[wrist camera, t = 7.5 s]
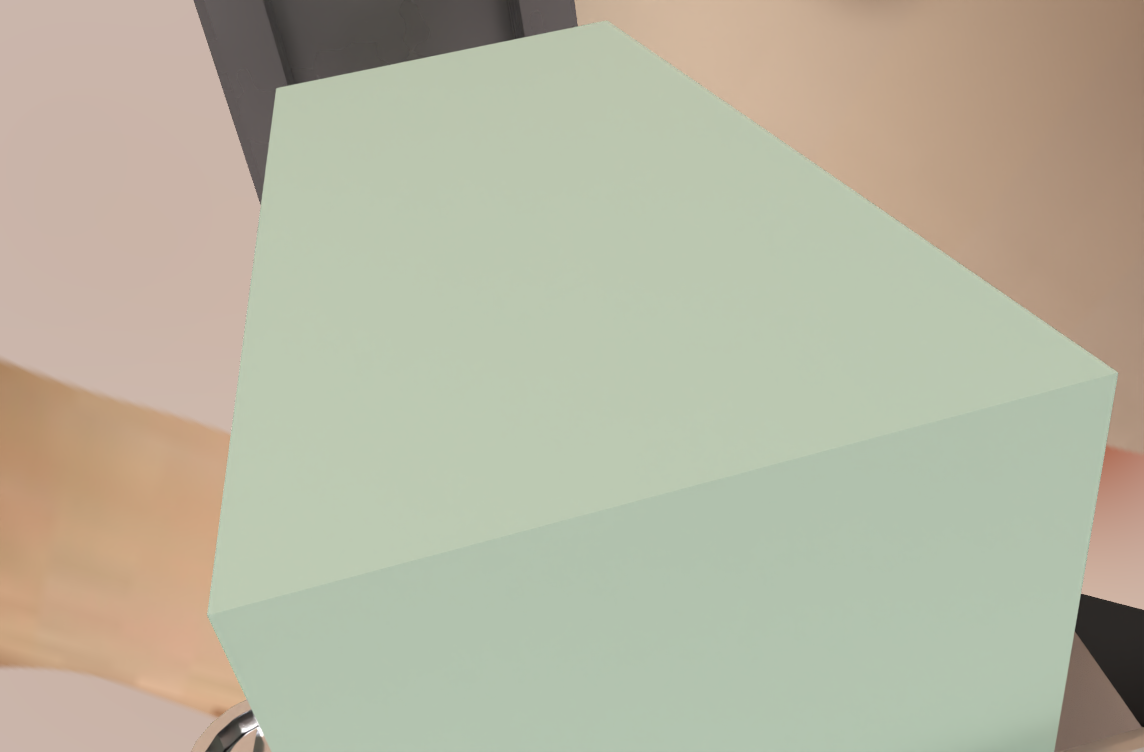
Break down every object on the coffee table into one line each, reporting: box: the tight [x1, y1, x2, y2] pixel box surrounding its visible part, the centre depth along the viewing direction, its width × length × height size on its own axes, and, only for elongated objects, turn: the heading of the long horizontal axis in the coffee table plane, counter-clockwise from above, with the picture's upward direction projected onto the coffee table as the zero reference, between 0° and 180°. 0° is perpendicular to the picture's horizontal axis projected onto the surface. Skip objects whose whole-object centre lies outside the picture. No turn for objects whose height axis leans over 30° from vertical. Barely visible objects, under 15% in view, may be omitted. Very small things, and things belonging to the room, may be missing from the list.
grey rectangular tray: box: [194, 0, 578, 204], centre depth 25 cm, size 16×9×3 cm, turn 9°
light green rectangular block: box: [207, 21, 1118, 752], centre depth 10 cm, size 10×4×8 cm, turn 9°
